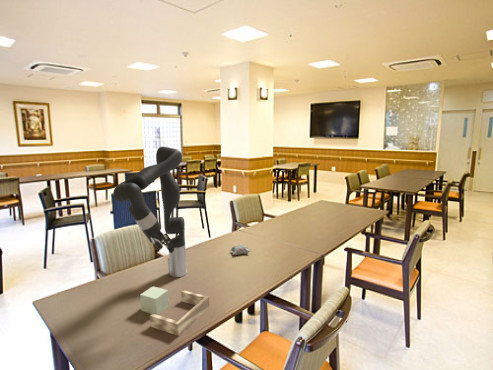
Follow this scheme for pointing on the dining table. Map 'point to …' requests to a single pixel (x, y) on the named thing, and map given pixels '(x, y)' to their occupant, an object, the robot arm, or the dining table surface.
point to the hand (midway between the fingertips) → (166, 250)
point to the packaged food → (240, 250)
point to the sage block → (154, 300)
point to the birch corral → (187, 319)
